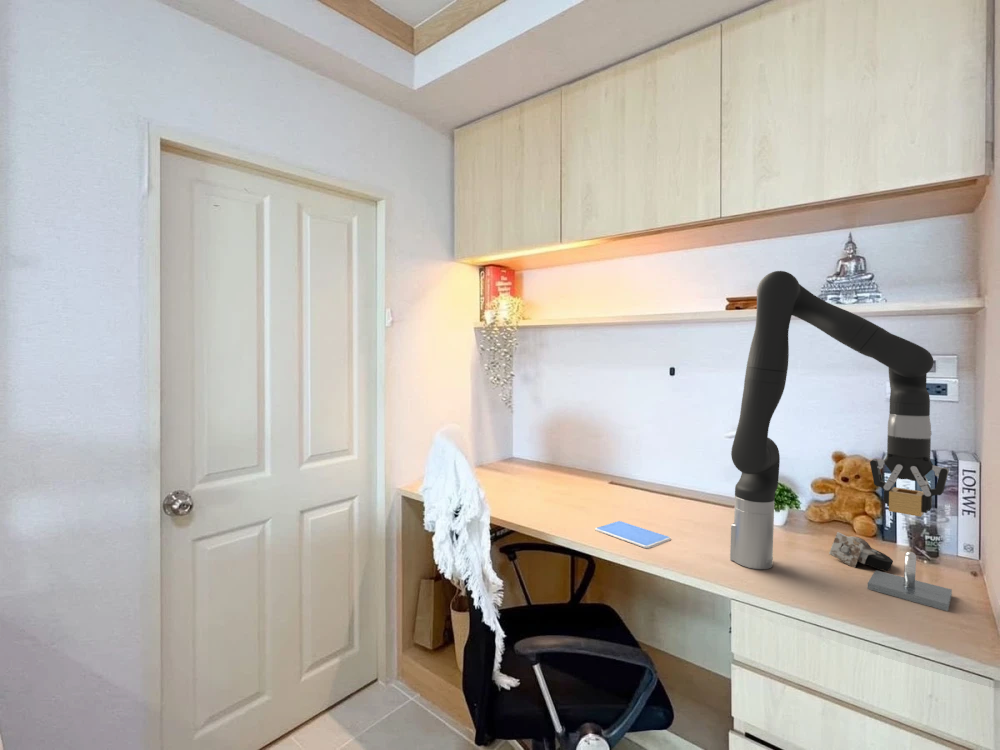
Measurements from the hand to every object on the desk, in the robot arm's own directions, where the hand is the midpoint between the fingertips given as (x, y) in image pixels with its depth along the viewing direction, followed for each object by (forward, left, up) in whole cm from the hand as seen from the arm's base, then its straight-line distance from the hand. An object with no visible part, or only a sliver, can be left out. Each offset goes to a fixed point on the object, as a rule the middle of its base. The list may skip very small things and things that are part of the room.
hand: (907, 508), depth 112 cm
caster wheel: (-10, +15, -20) cm, 27 cm away
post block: (+1, +3, -20) cm, 20 cm away
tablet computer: (-63, -11, -21) cm, 67 cm away
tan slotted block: (0, 0, -1) cm, 1 cm away
